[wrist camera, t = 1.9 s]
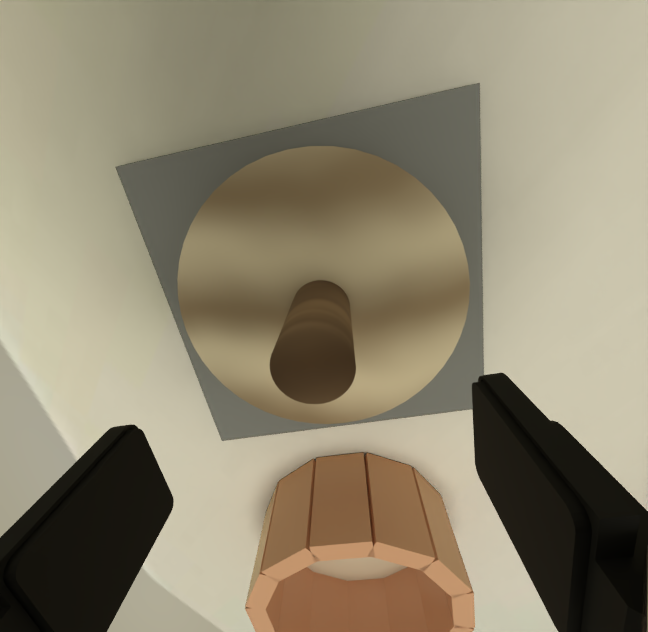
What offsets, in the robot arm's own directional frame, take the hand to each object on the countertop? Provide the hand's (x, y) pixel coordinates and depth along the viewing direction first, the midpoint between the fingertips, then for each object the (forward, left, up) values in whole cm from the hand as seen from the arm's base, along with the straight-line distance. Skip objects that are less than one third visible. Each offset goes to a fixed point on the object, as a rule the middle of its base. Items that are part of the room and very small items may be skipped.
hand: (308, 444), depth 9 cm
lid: (-1, 0, -10) cm, 10 cm away
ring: (+17, -1, -10) cm, 20 cm away
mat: (-1, 0, -10) cm, 10 cm away
